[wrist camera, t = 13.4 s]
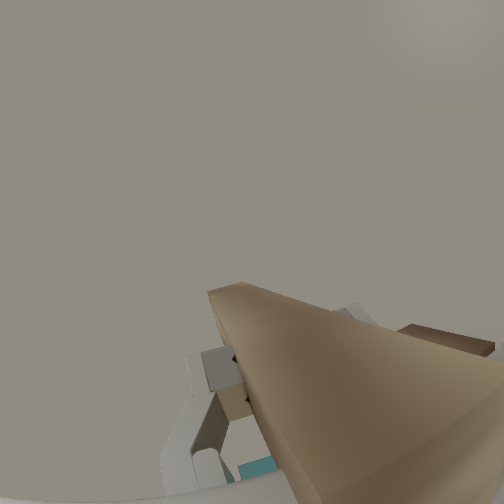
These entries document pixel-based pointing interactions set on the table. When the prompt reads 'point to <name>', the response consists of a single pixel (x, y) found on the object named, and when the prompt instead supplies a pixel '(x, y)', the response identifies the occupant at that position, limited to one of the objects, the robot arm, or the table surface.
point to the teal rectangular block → (257, 468)
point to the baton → (364, 404)
